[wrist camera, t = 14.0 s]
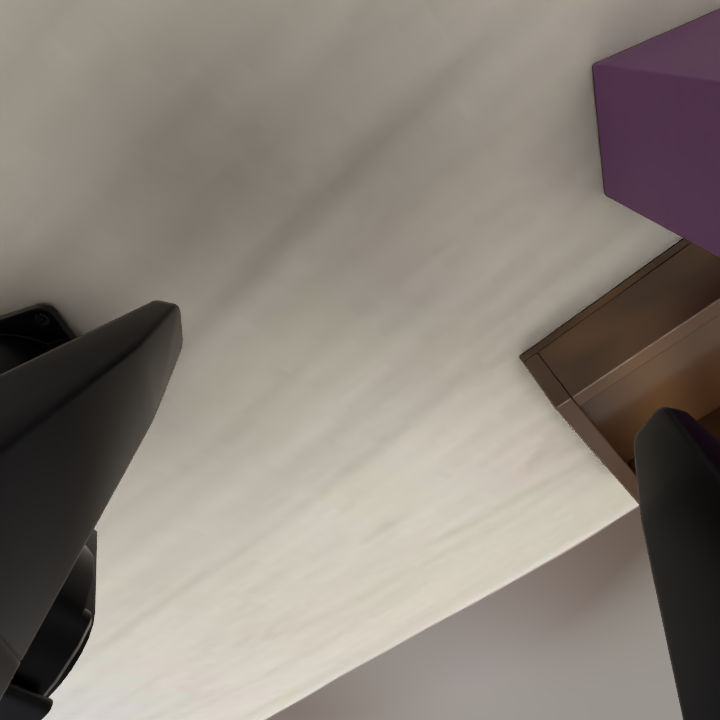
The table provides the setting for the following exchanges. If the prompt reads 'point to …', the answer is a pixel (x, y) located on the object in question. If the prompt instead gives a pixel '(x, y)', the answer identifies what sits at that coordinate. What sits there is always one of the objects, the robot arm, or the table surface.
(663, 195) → the block
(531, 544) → the table surface
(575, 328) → the wooden tray
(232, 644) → the table surface
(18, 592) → the robot arm
